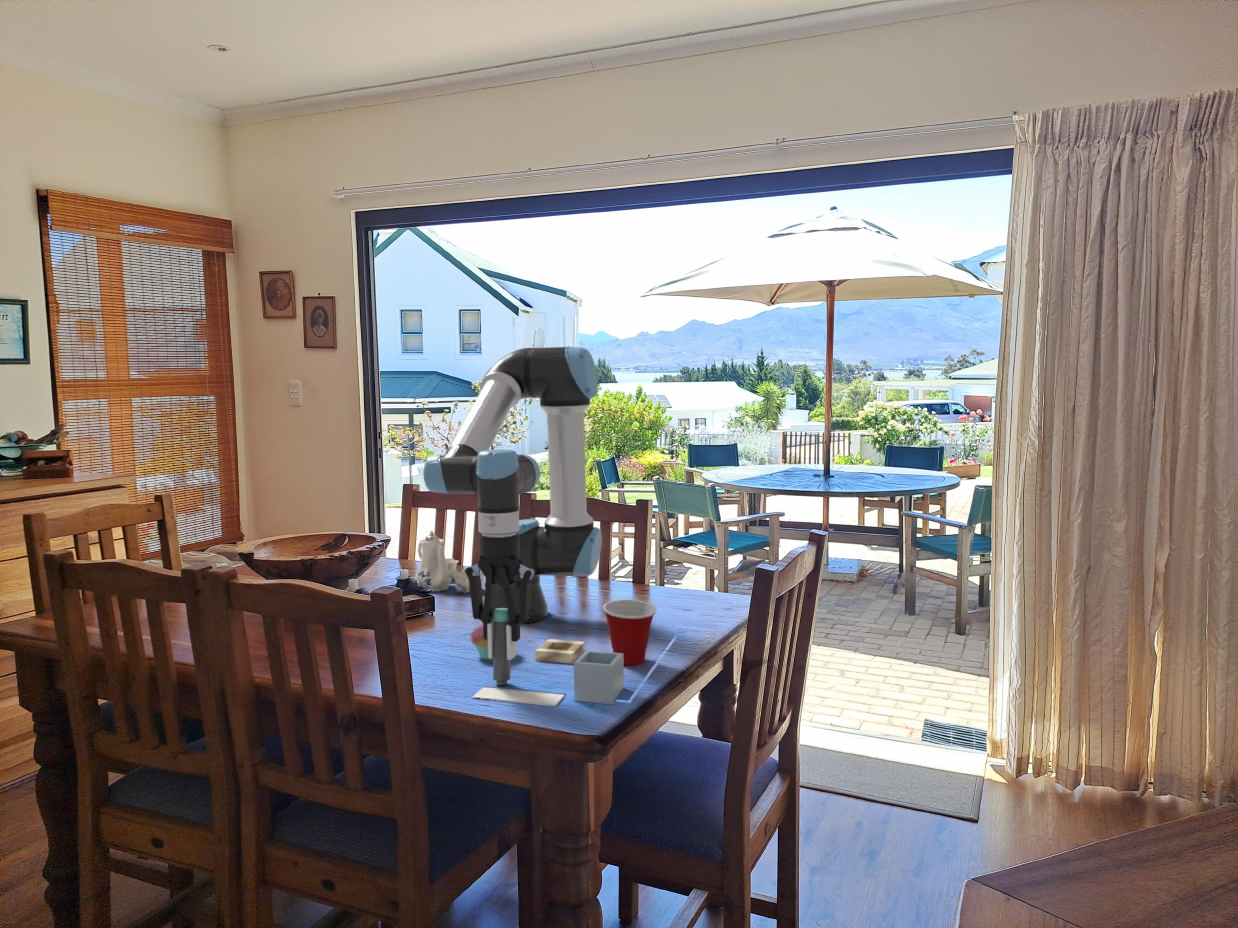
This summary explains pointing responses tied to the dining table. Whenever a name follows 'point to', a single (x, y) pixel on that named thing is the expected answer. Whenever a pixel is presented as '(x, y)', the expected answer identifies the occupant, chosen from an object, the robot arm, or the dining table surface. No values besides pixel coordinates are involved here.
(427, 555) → the chinaware
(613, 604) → the plastic cup
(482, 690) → the paper
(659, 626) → the dining table surface
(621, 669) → the pen pot
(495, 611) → the marker
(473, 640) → the cupcake
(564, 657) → the marker stand
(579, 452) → the robot arm
